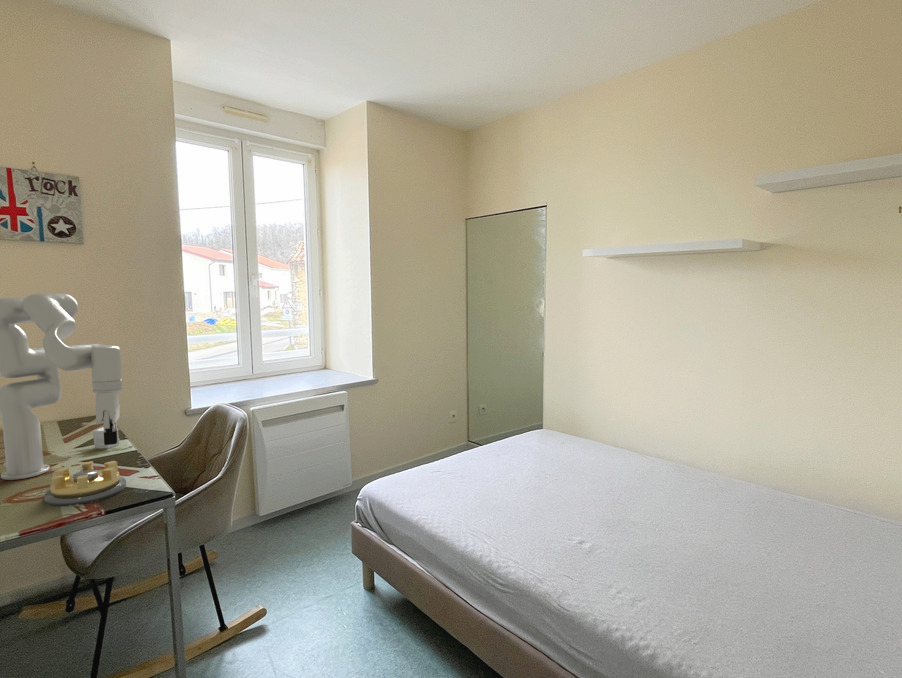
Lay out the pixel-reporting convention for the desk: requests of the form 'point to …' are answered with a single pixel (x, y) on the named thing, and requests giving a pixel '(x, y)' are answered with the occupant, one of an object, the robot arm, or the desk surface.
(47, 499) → the base plate
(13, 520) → the desk surface
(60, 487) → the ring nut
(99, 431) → the skincare box
